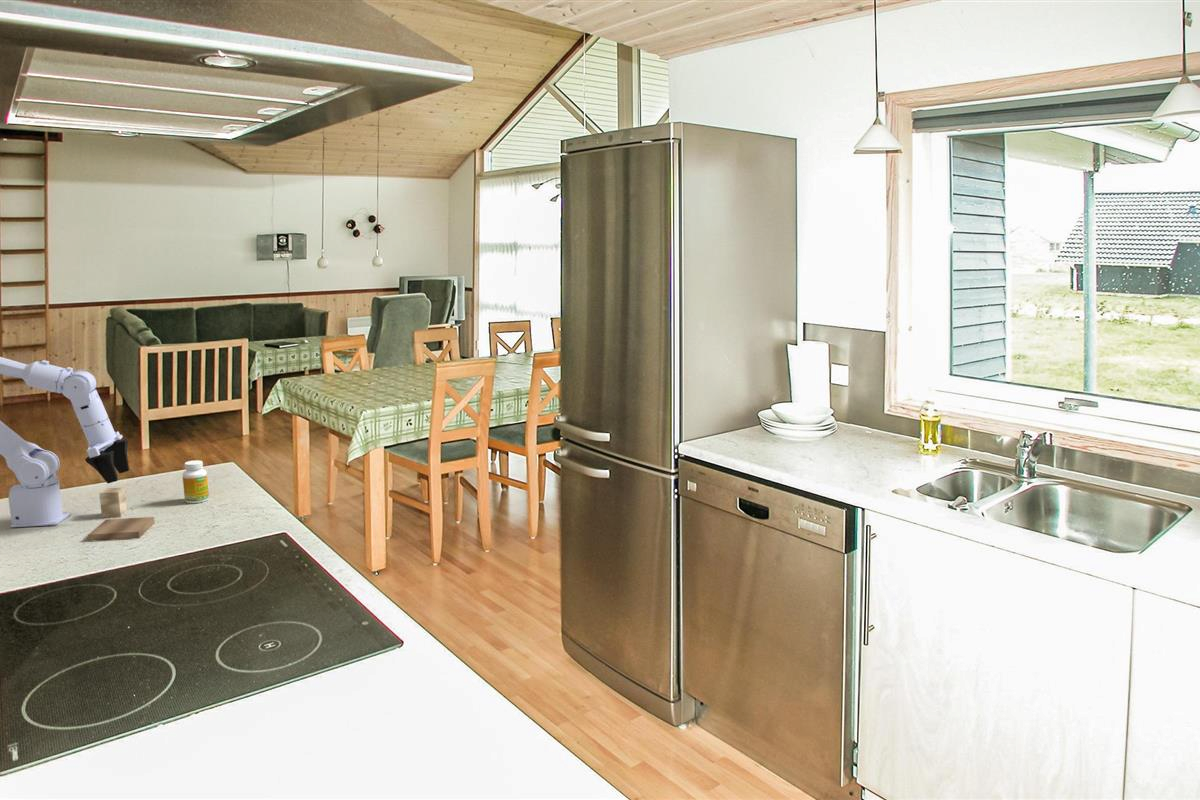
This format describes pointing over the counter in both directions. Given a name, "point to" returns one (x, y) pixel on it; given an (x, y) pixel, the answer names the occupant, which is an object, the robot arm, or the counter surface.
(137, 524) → the walnut block
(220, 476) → the counter surface
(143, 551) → the counter surface
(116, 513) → the birch block
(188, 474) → the supplement bottle
